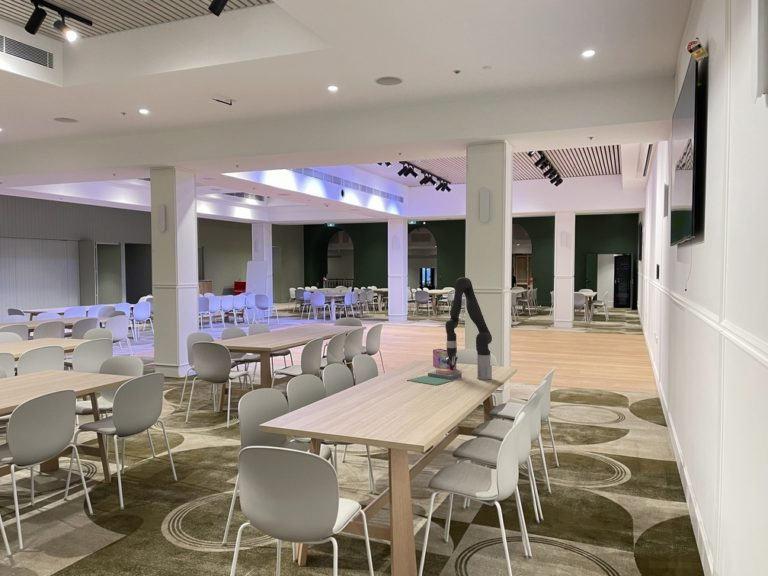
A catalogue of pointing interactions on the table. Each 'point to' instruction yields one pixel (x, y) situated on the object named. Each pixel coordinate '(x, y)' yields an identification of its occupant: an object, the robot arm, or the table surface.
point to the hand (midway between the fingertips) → (451, 370)
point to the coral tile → (443, 371)
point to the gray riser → (448, 376)
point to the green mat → (430, 380)
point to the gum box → (441, 359)
